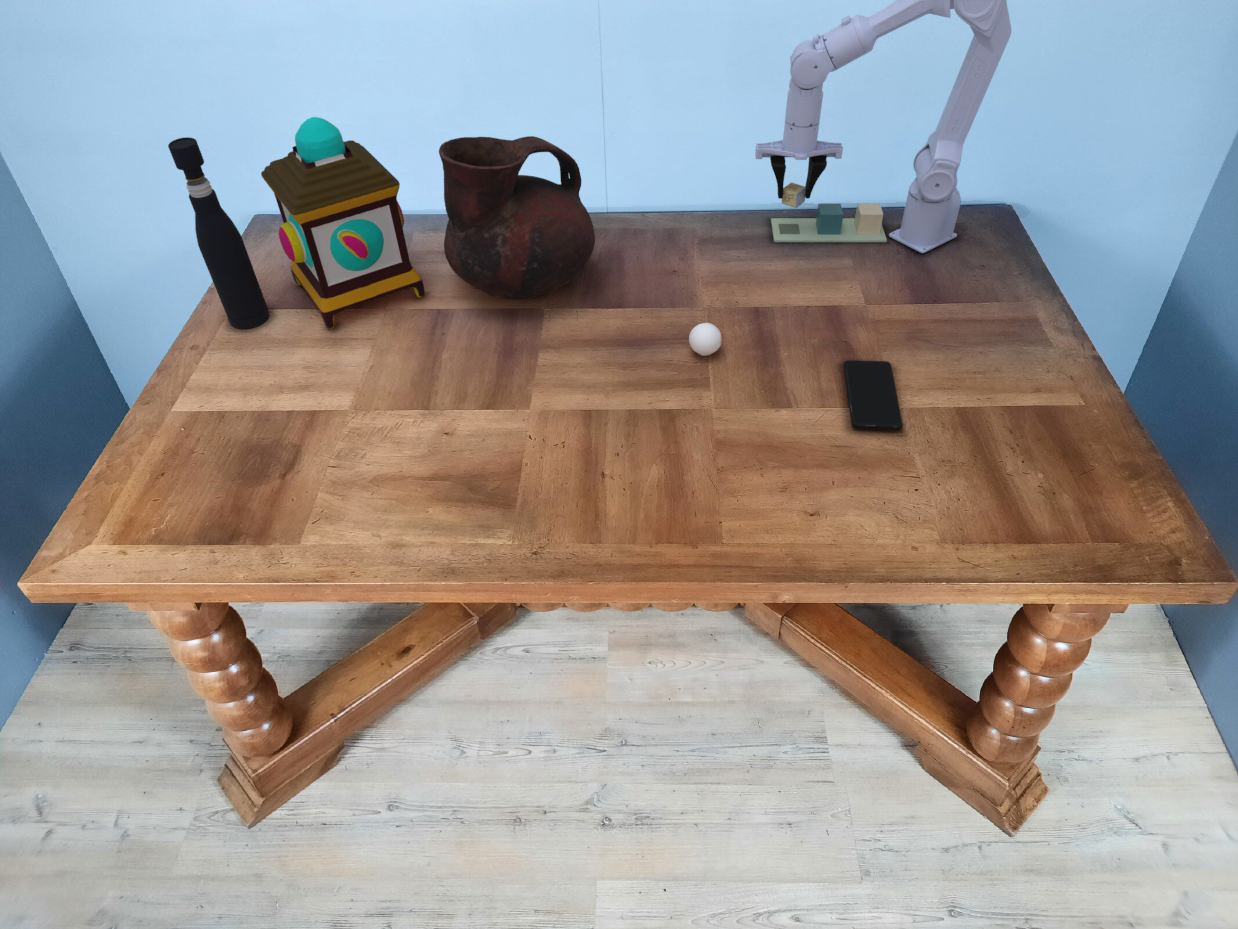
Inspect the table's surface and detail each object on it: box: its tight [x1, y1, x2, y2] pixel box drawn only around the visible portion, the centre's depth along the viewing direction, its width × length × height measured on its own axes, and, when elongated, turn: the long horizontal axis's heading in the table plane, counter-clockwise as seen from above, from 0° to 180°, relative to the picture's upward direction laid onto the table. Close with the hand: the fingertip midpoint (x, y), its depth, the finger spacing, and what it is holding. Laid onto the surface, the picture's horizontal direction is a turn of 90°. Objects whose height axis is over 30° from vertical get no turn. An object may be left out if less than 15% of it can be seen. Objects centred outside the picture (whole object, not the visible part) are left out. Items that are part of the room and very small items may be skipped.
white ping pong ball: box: [688, 322, 722, 357], centre depth 134 cm, size 5×5×5 cm
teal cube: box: [815, 203, 845, 235], centre depth 159 cm, size 4×4×4 cm
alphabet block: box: [781, 182, 806, 209], centre depth 156 cm, size 3×3×3 cm
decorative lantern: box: [260, 116, 425, 330], centre depth 140 cm, size 20×20×30 cm
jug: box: [438, 135, 596, 300], centre depth 143 cm, size 25×25×25 cm
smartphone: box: [843, 359, 904, 432], centre depth 126 cm, size 7×1×15 cm
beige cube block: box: [854, 203, 884, 234], centre depth 159 cm, size 4×4×4 cm
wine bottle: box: [168, 136, 270, 330], centre depth 136 cm, size 6×6×30 cm
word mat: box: [770, 217, 888, 243], centre depth 160 cm, size 20×8×1 cm, turn 87°
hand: (793, 195), depth 156 cm, fingers closed on alphabet block, 4 cm apart
